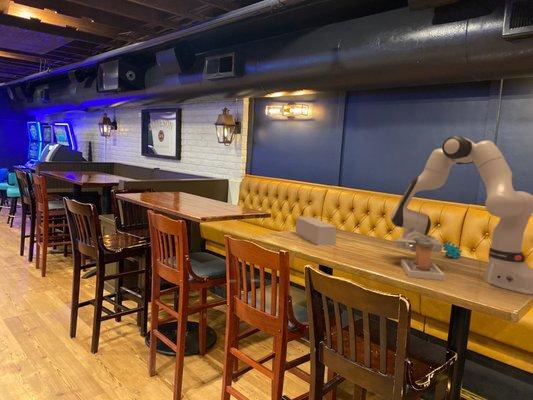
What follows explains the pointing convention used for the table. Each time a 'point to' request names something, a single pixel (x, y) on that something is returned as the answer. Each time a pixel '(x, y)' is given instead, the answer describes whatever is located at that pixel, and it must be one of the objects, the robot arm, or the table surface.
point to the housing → (416, 273)
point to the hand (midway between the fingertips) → (421, 248)
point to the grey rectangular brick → (316, 231)
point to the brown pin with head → (418, 248)
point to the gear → (452, 250)
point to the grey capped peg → (424, 254)
